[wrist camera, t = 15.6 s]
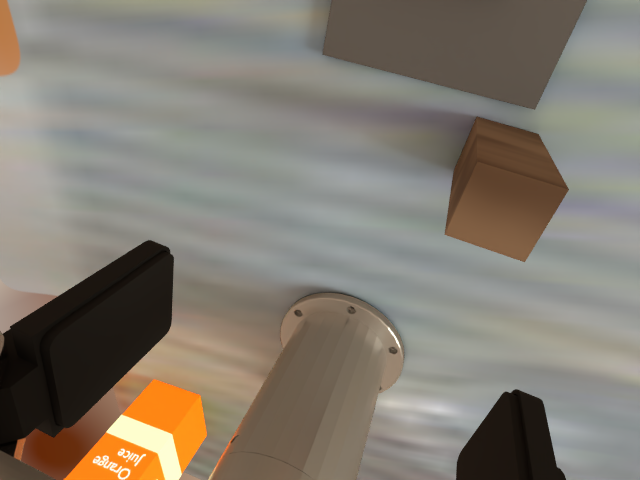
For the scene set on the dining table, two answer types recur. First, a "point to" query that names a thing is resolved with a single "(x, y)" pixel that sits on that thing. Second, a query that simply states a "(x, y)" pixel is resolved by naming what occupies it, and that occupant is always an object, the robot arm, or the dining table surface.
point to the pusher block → (503, 190)
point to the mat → (458, 41)
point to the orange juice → (148, 438)
